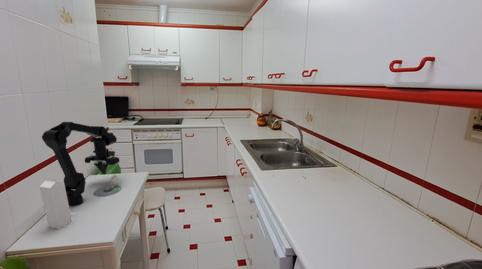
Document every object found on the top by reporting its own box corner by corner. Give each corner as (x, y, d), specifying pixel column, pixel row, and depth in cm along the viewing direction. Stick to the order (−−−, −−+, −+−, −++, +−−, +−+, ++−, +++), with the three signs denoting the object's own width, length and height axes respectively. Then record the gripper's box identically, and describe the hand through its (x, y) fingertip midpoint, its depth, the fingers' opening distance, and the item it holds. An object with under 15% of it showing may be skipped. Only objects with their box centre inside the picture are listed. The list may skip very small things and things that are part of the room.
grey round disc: (87, 197, 129) (86, 195, 128) (106, 185, 142) (106, 183, 142) (109, 199, 126) (109, 197, 125) (127, 187, 139) (127, 186, 138)
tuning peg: (108, 192, 131) (106, 182, 130) (101, 191, 132) (100, 181, 131) (120, 185, 140) (118, 175, 139) (114, 184, 141) (112, 175, 139)
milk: (61, 219, 108) (52, 173, 104) (72, 221, 107) (63, 175, 102) (47, 227, 103) (37, 179, 98) (58, 229, 101) (48, 180, 96)
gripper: (124, 145, 141) (127, 170, 144) (97, 143, 145) (101, 167, 149) (110, 150, 130) (114, 177, 134) (81, 148, 134) (86, 174, 138)
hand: (104, 174), depth 139 cm, fingers closed
